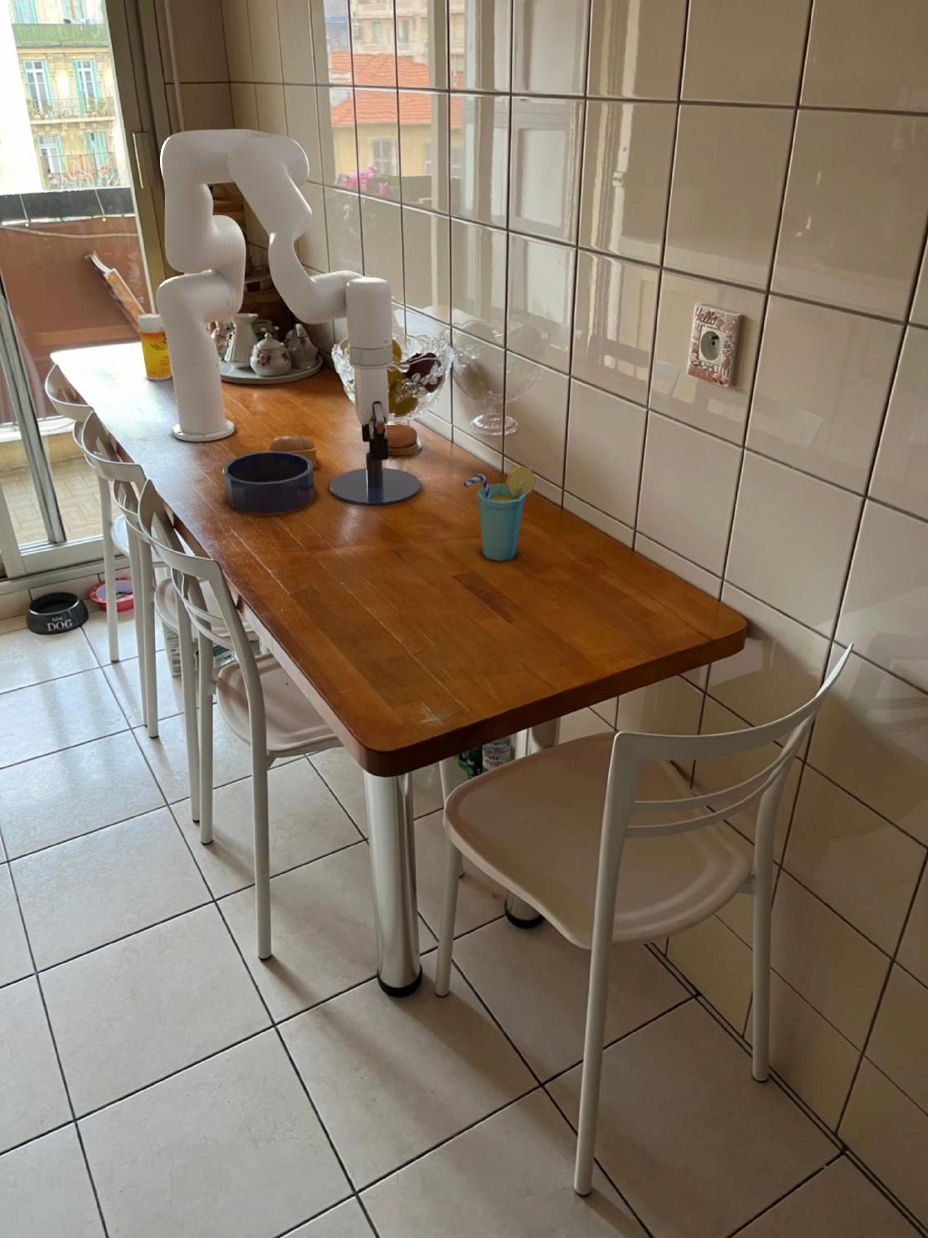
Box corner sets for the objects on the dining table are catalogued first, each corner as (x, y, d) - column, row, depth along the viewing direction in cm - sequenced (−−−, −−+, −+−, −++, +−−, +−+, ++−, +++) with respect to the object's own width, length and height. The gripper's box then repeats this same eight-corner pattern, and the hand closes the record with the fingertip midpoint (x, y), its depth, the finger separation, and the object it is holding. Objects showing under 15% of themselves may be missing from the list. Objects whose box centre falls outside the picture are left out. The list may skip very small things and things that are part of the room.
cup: (480, 577, 142) (483, 486, 134) (446, 559, 147) (447, 471, 139) (542, 550, 150) (547, 463, 142) (508, 534, 155) (512, 450, 147)
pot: (226, 484, 171) (222, 454, 168) (310, 478, 175) (308, 448, 171) (227, 519, 158) (223, 486, 155) (318, 512, 162) (316, 480, 158)
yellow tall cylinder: (168, 381, 227) (159, 318, 219) (143, 380, 227) (133, 318, 219) (175, 374, 232) (166, 312, 224) (151, 373, 232) (141, 312, 224)
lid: (325, 476, 176) (323, 441, 172) (411, 470, 179) (410, 436, 175) (335, 512, 162) (333, 474, 158) (428, 504, 165) (427, 467, 162)
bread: (271, 473, 177) (268, 443, 174) (270, 462, 181) (267, 433, 178) (317, 469, 178) (315, 440, 175) (315, 459, 183) (313, 430, 180)
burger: (423, 455, 186) (423, 433, 184) (379, 460, 183) (378, 438, 181) (410, 439, 194) (409, 418, 192) (367, 444, 191) (366, 422, 189)
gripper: (343, 343, 164) (348, 435, 173) (355, 369, 149) (360, 468, 158) (384, 341, 165) (387, 433, 174) (401, 366, 151) (403, 465, 160)
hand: (375, 450), depth 166 cm, fingers open, 9 cm apart
